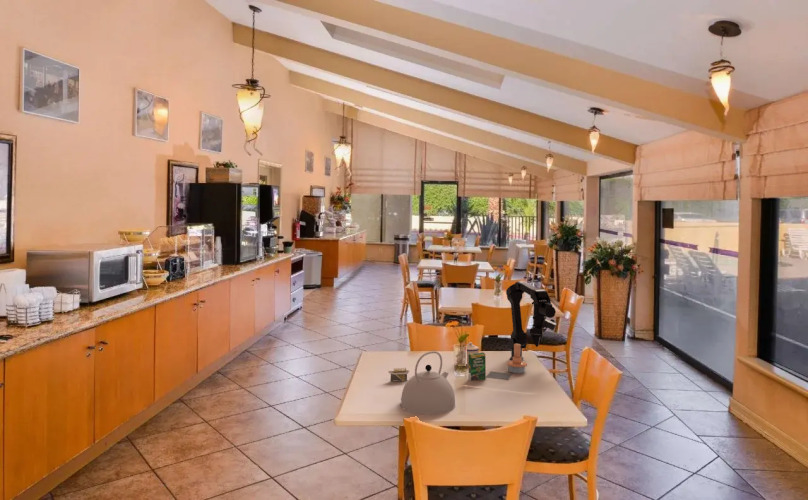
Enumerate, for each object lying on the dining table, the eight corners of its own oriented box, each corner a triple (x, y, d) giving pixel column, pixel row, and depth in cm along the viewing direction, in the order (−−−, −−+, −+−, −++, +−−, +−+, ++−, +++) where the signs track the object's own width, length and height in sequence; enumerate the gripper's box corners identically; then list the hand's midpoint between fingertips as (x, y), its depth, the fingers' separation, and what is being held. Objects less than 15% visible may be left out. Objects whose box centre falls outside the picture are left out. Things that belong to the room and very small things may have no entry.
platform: (420, 385, 268) (420, 371, 268) (382, 387, 265) (382, 373, 264) (414, 377, 280) (414, 364, 280) (378, 379, 276) (378, 366, 276)
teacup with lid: (480, 363, 305) (481, 341, 304) (475, 367, 296) (476, 345, 296) (459, 360, 310) (459, 339, 309) (453, 364, 301) (454, 342, 301)
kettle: (427, 391, 258) (427, 342, 256) (469, 402, 243) (469, 350, 242) (389, 405, 239) (390, 352, 238) (432, 419, 225) (433, 362, 223)
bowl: (510, 369, 293) (510, 362, 293) (525, 371, 290) (525, 363, 290) (507, 373, 286) (507, 365, 286) (522, 375, 283) (523, 367, 283)
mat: (490, 372, 288) (490, 371, 288) (512, 375, 284) (512, 373, 284) (485, 378, 278) (485, 377, 278) (507, 381, 273) (507, 380, 273)
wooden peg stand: (506, 361, 294) (507, 341, 293) (526, 362, 292) (527, 342, 291) (506, 366, 284) (507, 346, 283) (527, 367, 282) (528, 347, 282)
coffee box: (470, 382, 272) (470, 354, 271) (467, 380, 275) (468, 353, 274) (485, 380, 274) (486, 353, 273) (483, 378, 277) (483, 352, 276)
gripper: (552, 318, 279) (552, 350, 281) (557, 312, 297) (557, 342, 298) (529, 317, 284) (529, 348, 285) (536, 310, 301) (535, 340, 302)
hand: (538, 344), depth 292 cm, fingers open, 9 cm apart
